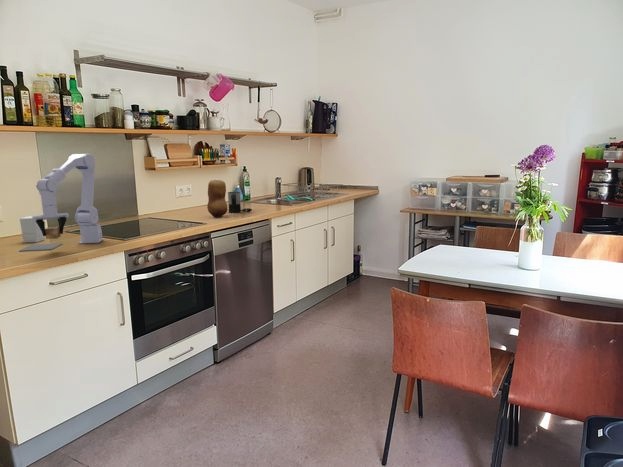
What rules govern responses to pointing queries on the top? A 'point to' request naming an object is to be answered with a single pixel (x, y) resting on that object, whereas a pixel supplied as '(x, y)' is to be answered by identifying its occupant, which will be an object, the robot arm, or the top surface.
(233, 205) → the milk frother
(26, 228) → the supplement box
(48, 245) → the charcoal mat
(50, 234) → the oak cube
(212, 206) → the butternut squash
